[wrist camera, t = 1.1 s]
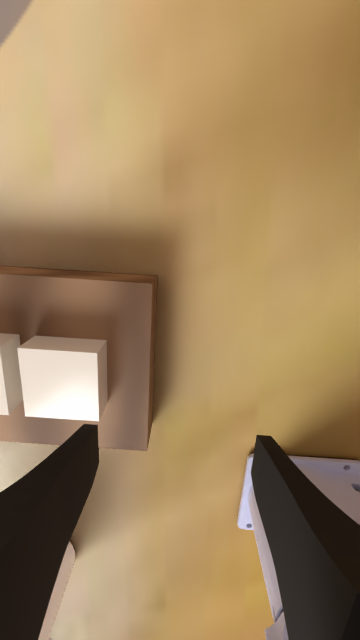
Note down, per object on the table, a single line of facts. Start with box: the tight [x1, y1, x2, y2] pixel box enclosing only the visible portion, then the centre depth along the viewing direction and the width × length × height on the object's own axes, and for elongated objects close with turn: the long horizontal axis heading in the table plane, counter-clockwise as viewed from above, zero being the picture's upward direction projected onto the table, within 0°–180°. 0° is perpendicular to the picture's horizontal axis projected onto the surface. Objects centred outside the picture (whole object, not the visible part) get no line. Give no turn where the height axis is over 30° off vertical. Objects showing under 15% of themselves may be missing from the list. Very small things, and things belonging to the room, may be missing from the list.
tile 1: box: [17, 336, 108, 421], centre depth 18 cm, size 4×4×2 cm
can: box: [38, 541, 75, 640], centre depth 22 cm, size 6×6×12 cm
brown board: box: [0, 266, 157, 451], centre depth 20 cm, size 14×12×3 cm
